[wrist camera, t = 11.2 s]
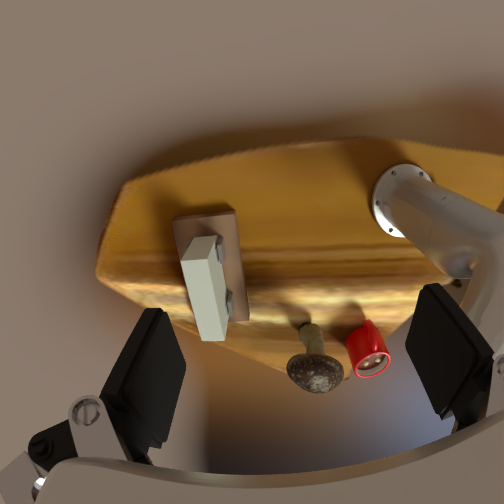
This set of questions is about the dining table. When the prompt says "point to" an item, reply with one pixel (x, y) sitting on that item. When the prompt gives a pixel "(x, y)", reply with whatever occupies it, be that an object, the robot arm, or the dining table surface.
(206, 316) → the pale grey rectangular block
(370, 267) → the dining table surface
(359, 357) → the mug
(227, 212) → the board
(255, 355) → the dining table surface
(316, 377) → the mushroom
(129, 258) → the dining table surface
